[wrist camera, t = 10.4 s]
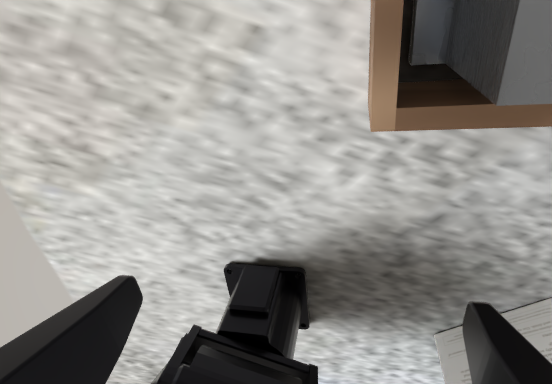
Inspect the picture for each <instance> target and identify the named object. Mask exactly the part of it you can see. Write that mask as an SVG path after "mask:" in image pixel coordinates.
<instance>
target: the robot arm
mask: <svg viewBox="0 0 552 384" xmlns="http://www.w3.org/2000/svg"><path fill="white" fill-rule="evenodd" d="M229 269H230V270H229ZM231 270H232V271H231ZM224 274H225V278H226V282H227V287H228V291H229V295H230V300H229V302H228V305H227V307H226V310H225V312H224V314H223V317H222V319H221V322H220V324H219V327H218V329H217V331H216V333H213V332H210V331H207V330H204V329H202V327H200V326H197V325H193V327H192V328H191V330H190V332H189V333H188V334H187V333H186V335H185V336H184V337H183V338H181V340H180V342H179V344H178V346H177V348H176V350H175V352H174V354H173V356H172V357H171V359H170V361H169V362H168V363H167V365H166V366H165V367H164V368H163V369H162V371H161V372H160V373H159V374H158V376H157V377H156V378H155V379H154V380H153V382H152V383H151V384H318V366H315V365H312V364H309V365H307V364H304V363H301V362H298V361H296V360H293V356H294V351H295V345H296V339H297V333H298V329H308V328H309V325H310V318H309V306H308V294H307V282H306V272H305V270H304V269H302V268H296V267H279V266H263V265H247V264H227V265H226V266H225V268H224ZM298 274H300V275H298ZM142 301H143V296H142V293H141V290H140V288H139V286H138V283H137V281H136V279H135V278H134V277H133V276H127V275H120V276H118V277H116V278H114V279H113V280H111V281H109V282H108V283H106V284H104V285H103V286H101V287H99V288H98V289H96V290H95V291H93V292H91V293H90V294H88V295H86V296H85V297H83V298H81V299H80V300H78V301H76V302H75V303H73V304H71V305H70V306H68V307H67V308H65V309H63V310H61V311H60V312H58V313H57V314H55V315H54V316H52V317H50V318H48V319H47V320H45V321H43V322H42V323H40V324H39V325H37V326H35V327H33V328H32V329H30V330H29V331H27V332H25V333H24V334H22V335H20V336H19V337H17V338H15V339H14V340H12V341H10V342H9V343H7V344H5V345H4V346H2V347H0V384H105V383H106V382H107V380H108V378H109V376H110V374H111V372H112V370H113V368H114V366H115V364H116V362H117V361H118V359H119V357H120V355H121V353H122V350H123V348H124V346H125V343H126V341H127V339H128V336H129V334H130V331H131V329H132V326H133V324H134V322H135V319H136V317H137V314H138V312H139V309H140V307H141V305H142ZM462 331H463V338H464V343H465V349H466V354H467V359H468V365H469V370H470V376H471V381H472V384H552V363H551V362H550V361H548V360H547V359H546V358H545V357H544V356H543V355H542V354H541V353H540V352H539V351H538V350H537V349H536V348H535V347H534V346H533V345H532V344H531V343H530V342H529V341H528V340H527V339H526V338H525V337H524V336H523V335H522V334H521V333H520V332H518V331H517V330H516V329H515V328H514V327H513V326H512V325H511V324H510V323H509V322H508V321H507V320H506V319H505V318H504V317H503V316H502V315H501V314H500V313H499V312H498V311H497V310H496V309H495V308H494V307H493V306H492V305H490V304H489V303H486V302H474V301H471V302H469V303H468V305H467V308H466V312H465V316H464V321H463V326H462Z"/></svg>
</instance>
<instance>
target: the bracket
mask: <svg viewBox="0 0 552 384" xmlns="http://www.w3.org/2000/svg"><path fill="white" fill-rule="evenodd" d="M408 61H409V63H410V64H411V65H425V64H440V63H445V64H447V65H448V66H449V67H450V68H451V69H453V70H454V71H455V72H456V73H458V74H459V75H460V76H461V77H462V78H464V79H465V80H466V81H467V82H468V83H470V84H471V85H472V86H473V87H474V88H476V89H477V90H478V91H479V92H480V93H482V94H483V95H484V96H485V97H486V98H488V99H489V100H490V101H491V102H492V103H494V104H495V105H496V106H505V105H531V104H552V0H414V1H413V12H412V23H411V35H410V46H409V58H408Z"/></svg>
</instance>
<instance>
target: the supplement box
mask: <svg viewBox="0 0 552 384" xmlns="http://www.w3.org/2000/svg"><path fill="white" fill-rule="evenodd" d="M501 315H502V316H503V317H504V318H505V319H506V320H507V321H508V322H509V323H510V324H511V325H512V326H513V327H514V328H515V329H516V330H517V331H518V332H520V333H521V334H522V335H523V336H524V337H525V338H526V339H527V340H528V341H529V342H530V343H531V344H532V345H533V346H534V347H535V348H536V349H537V350H538V351H539V352H540V353H541V354H542V355H543V356H544V357H545V358H546V359H547V360H548V361H550V362H551V363H552V298H550V299H547V300H544V301H540V302H537V303H534V304H531V305H528V306H524V307H521V308H518V309H515V310H512V311H508V312H505V313H502V314H501ZM434 339H435V343H436V347H437V351H438V355H439V360H440V364H441V368H442V373H443V377H444V381H445V384H472V381H471V376H470V370H469V365H468V359H467V354H466V349H465V343H464V338H463V331H462V326H460V327H457V328H454V329H450V330H447V331H444V332H441V333H438V334H435V335H434Z"/></svg>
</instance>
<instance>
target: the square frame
mask: <svg viewBox="0 0 552 384" xmlns="http://www.w3.org/2000/svg"><path fill="white" fill-rule="evenodd" d="M403 4H404V0H371V17H370V53H369V89H368V107H369V117H370V128H371V132H377V131H411V130H445V129H479V128H513V127H547V126H552V104H531V105H505V106H496V105H495V104H494V103H492V102H491V101H490V100H489V99H488V98H486V97H485V96H484V95H483V94H482V93H480V92H479V91H478V90H477V89H476V88H474V87H473V86H472V85H471V84H470V83H468V82H467V81H466V80H465V79H454V80H438V81H421V82H404V83H398V76H399V61H400V47H401V33H402V18H403Z"/></svg>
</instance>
